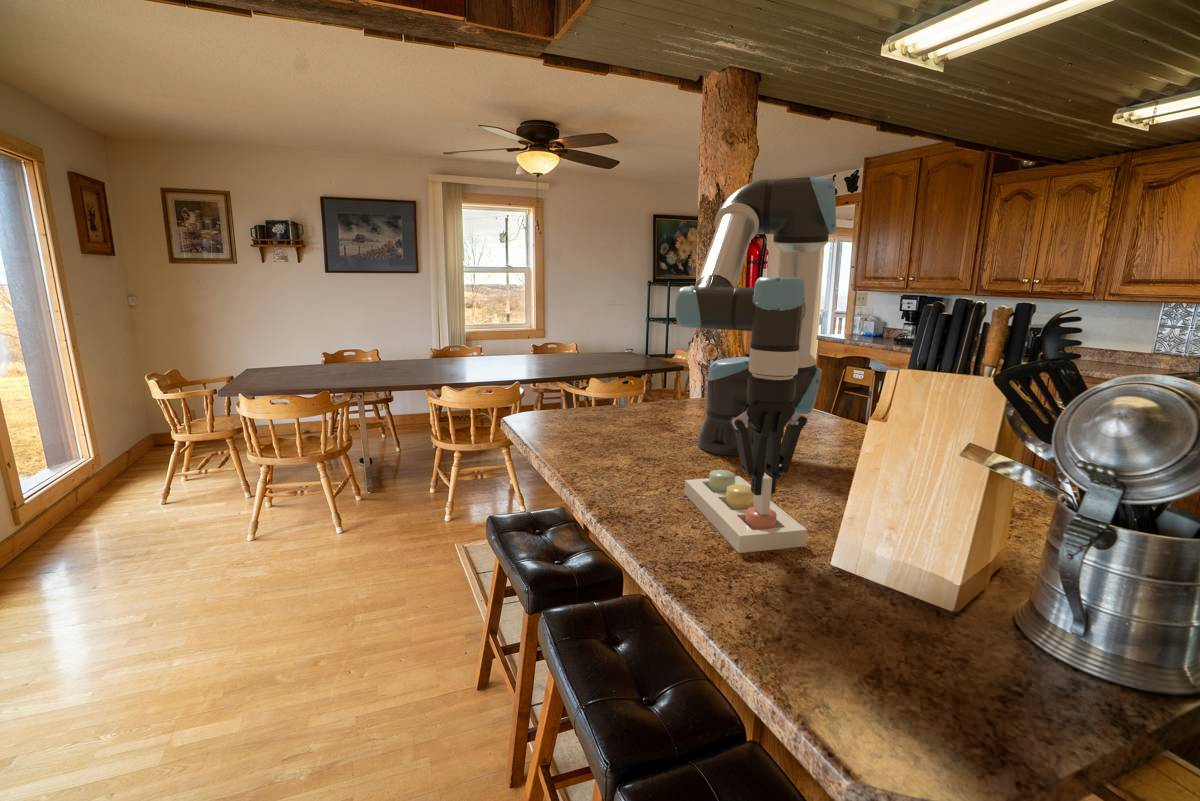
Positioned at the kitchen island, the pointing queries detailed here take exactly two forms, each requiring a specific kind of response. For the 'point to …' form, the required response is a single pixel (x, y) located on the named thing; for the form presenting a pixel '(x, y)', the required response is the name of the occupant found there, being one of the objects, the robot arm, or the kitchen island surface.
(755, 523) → the brick button
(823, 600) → the kitchen island surface
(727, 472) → the sage button
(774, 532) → the panel
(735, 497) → the ochre button
